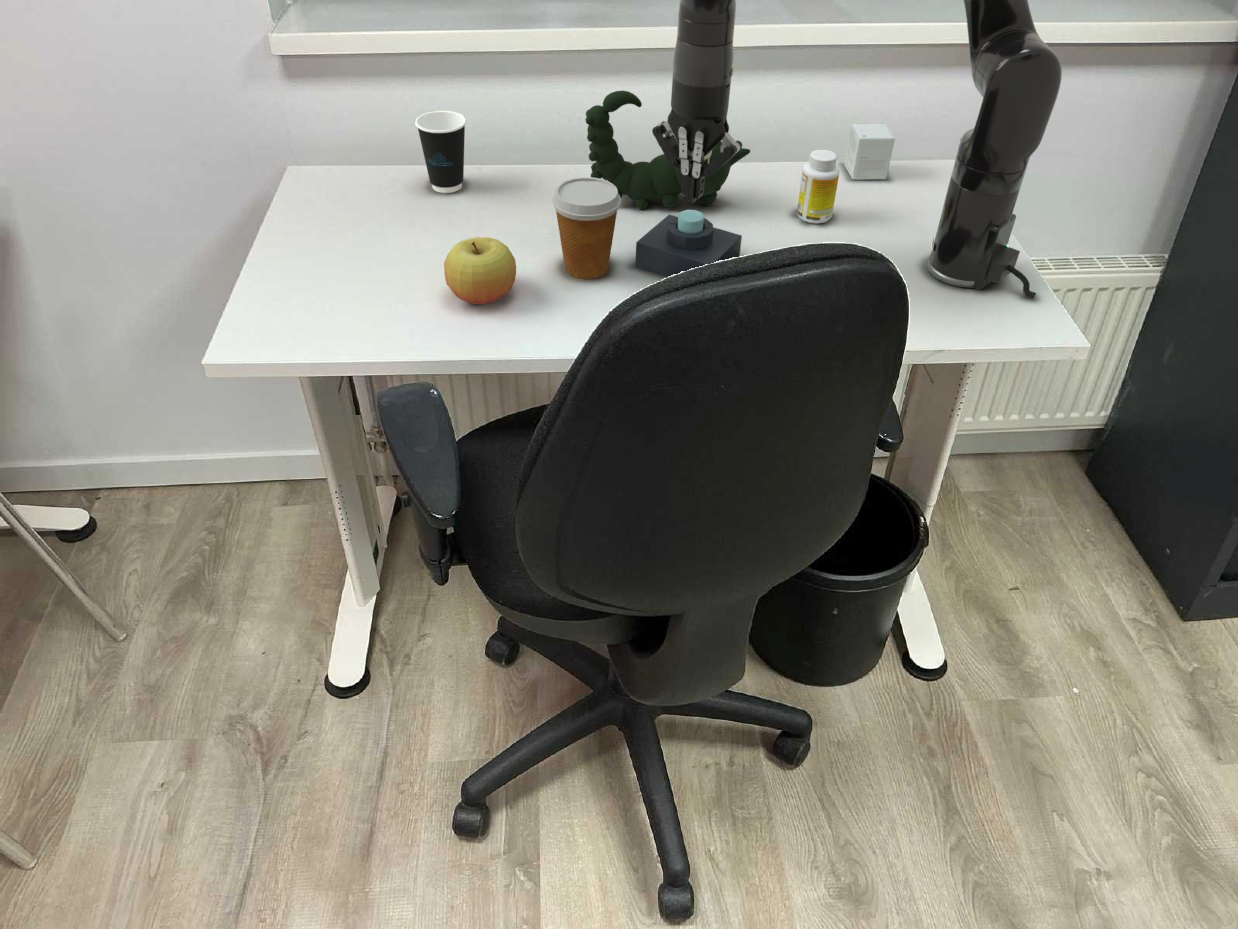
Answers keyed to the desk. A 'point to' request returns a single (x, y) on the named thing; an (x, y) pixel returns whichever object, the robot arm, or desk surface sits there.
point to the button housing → (684, 247)
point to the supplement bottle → (818, 187)
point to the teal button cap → (690, 221)
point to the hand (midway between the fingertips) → (691, 198)
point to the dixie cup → (443, 148)
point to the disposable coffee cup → (586, 224)
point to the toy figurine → (643, 176)
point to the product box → (869, 151)
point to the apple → (480, 270)
